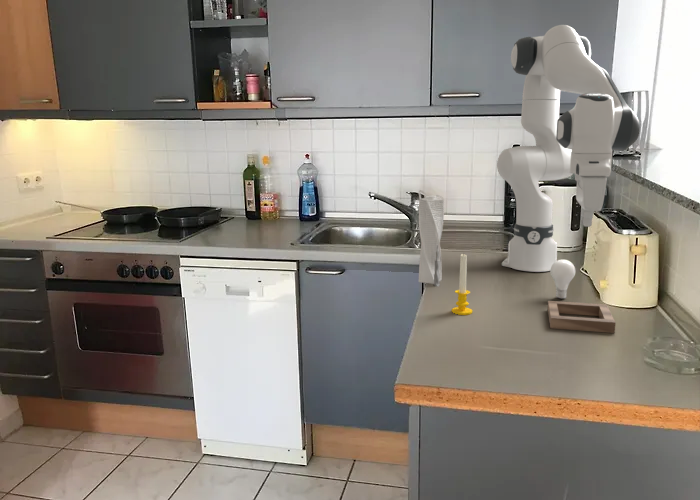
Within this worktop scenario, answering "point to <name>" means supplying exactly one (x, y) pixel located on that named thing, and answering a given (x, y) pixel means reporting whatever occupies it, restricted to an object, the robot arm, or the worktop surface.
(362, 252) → the worktop surface
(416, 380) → the worktop surface
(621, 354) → the worktop surface
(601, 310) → the rectangular wooden frame
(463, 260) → the candle
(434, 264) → the skyscraper
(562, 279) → the lightbulb
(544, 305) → the worktop surface
